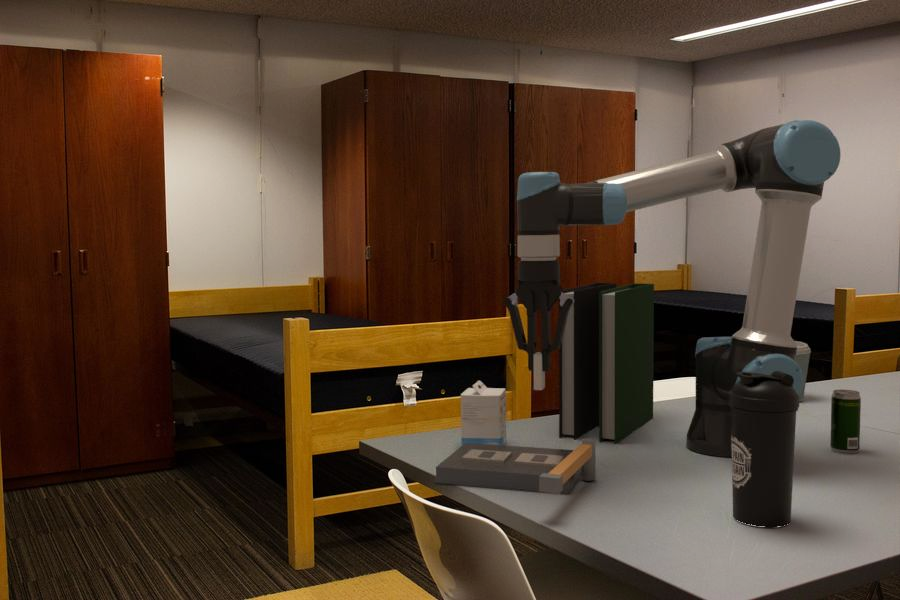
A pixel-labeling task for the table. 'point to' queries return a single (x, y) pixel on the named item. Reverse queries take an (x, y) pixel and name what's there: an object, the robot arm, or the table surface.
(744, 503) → the water bottle
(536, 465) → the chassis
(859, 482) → the table surface
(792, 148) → the robot arm
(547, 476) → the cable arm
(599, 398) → the books
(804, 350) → the disposable coffee cup
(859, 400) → the beer can
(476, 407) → the ink box
